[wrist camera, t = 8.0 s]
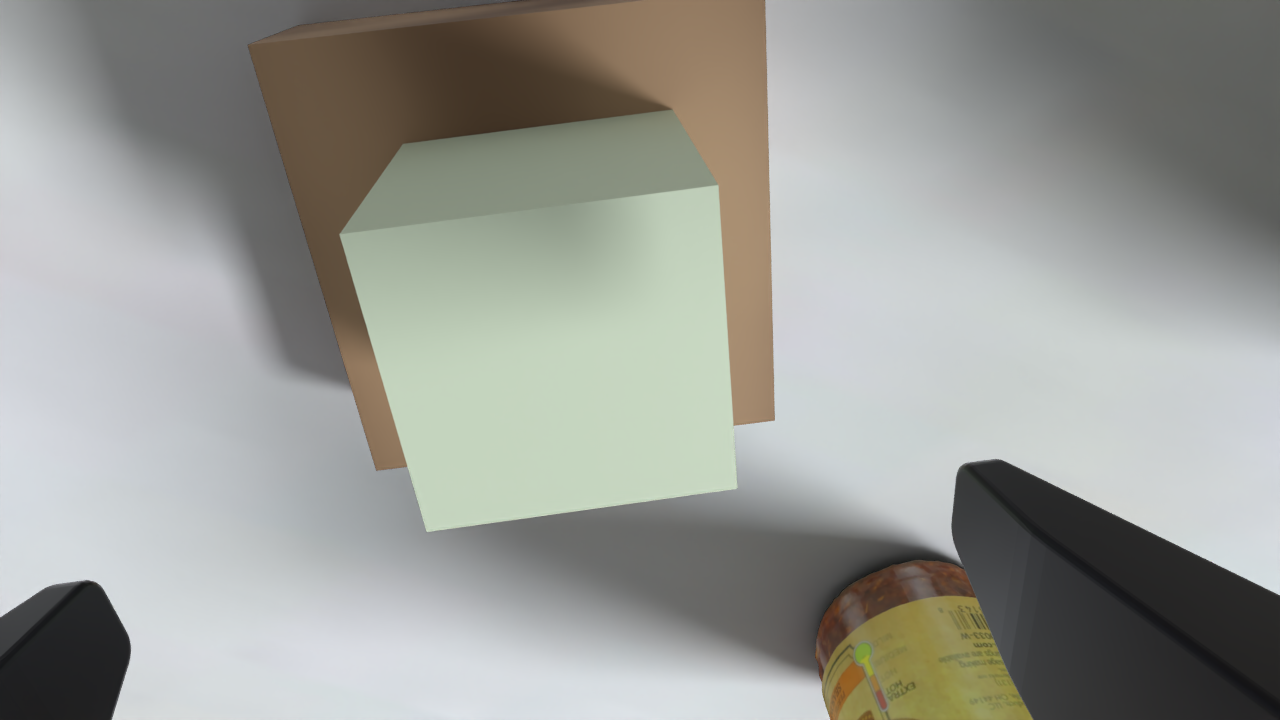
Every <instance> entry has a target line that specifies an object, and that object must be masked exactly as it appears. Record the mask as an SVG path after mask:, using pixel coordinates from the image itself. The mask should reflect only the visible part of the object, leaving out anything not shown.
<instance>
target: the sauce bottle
mask: <svg viewBox="0 0 1280 720" xmlns="http://www.w3.org/2000/svg"><path fill="white" fill-rule="evenodd" d="M815 658H816V660H817V662H818V665H819V676H820V679H821V681H822V693H823V698H824V701H825V705H826V708H827V711H828V714H829V717H830V720H1033V719H1032V717H1031V715H1030V713H1029V711H1028V710H1027V708H1026V706H1025V704H1024V702H1023V701H1022V699H1021V697H1020V695H1019V693H1018V691H1017V689H1016V687H1015V685H1014V683H1013V682H1012V680H1011V678H1010V676H1009V674H1008V672H1007V669H1006V667H1005V665H1004V663H1003V660H1002V658H1001V656H1000V654H999V651H998V649H997V646H996V644H995V642H994V639H993V637H992V634H991V632H990V630H989V627H988V625H987V622H986V620H985V617H984V615H983V613H982V610H981V608H980V605H979V603H978V601H977V598H976V596H975V593H974V591H973V589H972V586H971V584H970V581H969V579H968V577H967V574H966V572H965V570H964V569H961V568H960V567H958V566H957V565H955V564H952V563H944V562H941V561H938V560H937V561H924V560H913V561H909V562H906V563H901V564H897V565H894V564H893V565H891V566H889V567H887V568H884V569H882V570H880V571H878V572H874V573H870V574H869V575H867V576H865V577H863V578H861V579H859V580H857V581H855V582H854V583H852V584H851V585H849V586H848V587H846V588H845V589H844V590H843V591H842V592H841V593H840V595H839V596H838V597H837V598H835V599H834V601H833V603H832V604H831V605H830V606H829V608H828V609H827V610H826V612H825V614H824V616H823V618H822V621H821V624H820V627H819V629H818V635H817V639H816V651H815Z"/></svg>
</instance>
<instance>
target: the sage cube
mask: <svg viewBox="0 0 1280 720" xmlns="http://www.w3.org/2000/svg"><path fill="white" fill-rule="evenodd" d="M339 235H340V238H341V241H342V245H343V248H344V252H345V255H346V259H347V262H348V265H349V269H350V272H351V276H352V279H353V282H354V286H355V289H356V293H357V296H358V299H359V303H360V306H361V310H362V313H363V317H364V320H365V323H366V327H367V330H368V334H369V337H370V340H371V344H372V347H373V351H374V354H375V357H376V361H377V364H378V368H379V371H380V374H381V378H382V381H383V385H384V388H385V392H386V395H387V398H388V402H389V405H390V409H391V412H392V415H393V419H394V422H395V426H396V429H397V432H398V436H399V439H400V443H401V446H402V450H403V453H404V456H405V460H406V463H407V467H408V470H409V473H410V477H411V480H412V484H413V487H414V490H415V494H416V497H417V501H418V504H419V507H420V511H421V514H422V518H423V521H424V525H425V528H426V531H427V532H431V531H438V530H446V529H453V528H460V527H467V526H474V525H481V524H489V523H496V522H503V521H510V520H517V519H524V518H532V517H539V516H546V515H553V514H560V513H567V512H575V511H582V510H589V509H596V508H603V507H610V506H618V505H625V504H632V503H639V502H646V501H653V500H661V499H668V498H675V497H682V496H689V495H696V494H704V493H711V492H718V491H725V490H732V489H737V473H736V457H735V442H734V426H733V410H732V394H731V378H730V362H729V346H728V330H727V314H726V298H725V282H724V266H723V250H722V234H721V218H720V202H719V186H718V184H717V182H716V180H715V179H714V177H713V175H712V174H711V172H710V170H709V169H708V167H707V165H706V164H705V162H704V160H703V159H702V157H701V155H700V154H699V152H698V151H697V149H696V147H695V146H694V144H693V142H692V141H691V139H690V137H689V136H688V134H687V132H686V131H685V129H684V127H683V126H682V124H681V122H680V121H679V119H678V117H677V116H676V114H675V112H674V111H673V110H665V111H657V112H649V113H641V114H633V115H625V116H617V117H610V118H602V119H594V120H586V121H578V122H570V123H563V124H555V125H547V126H539V127H531V128H523V129H515V130H508V131H500V132H492V133H484V134H476V135H468V136H460V137H453V138H445V139H437V140H429V141H421V142H413V143H406V144H403V145H402V146H401V147H400V149H399V150H398V152H397V153H396V155H395V156H394V157H393V159H392V160H391V162H390V163H389V165H388V166H387V167H386V169H385V170H384V172H383V173H382V175H381V176H380V177H379V179H378V180H377V182H376V183H375V184H374V186H373V187H372V189H371V190H370V192H369V193H368V194H367V196H366V197H365V199H364V200H363V202H362V203H361V204H360V206H359V207H358V209H357V210H356V212H355V213H354V214H353V216H352V217H351V219H350V220H349V221H348V223H347V224H346V226H345V227H344V229H343V230H342V231H341V233H340V234H339Z"/></svg>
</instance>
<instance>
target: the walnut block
mask: <svg viewBox="0 0 1280 720" xmlns="http://www.w3.org/2000/svg"><path fill="white" fill-rule="evenodd" d="M248 48H249V51H250V55H251V58H252V61H253V65H254V68H255V71H256V75H257V78H258V81H259V84H260V88H261V91H262V94H263V98H264V101H265V104H266V108H267V111H268V114H269V117H270V121H271V124H272V127H273V131H274V134H275V137H276V141H277V144H278V147H279V151H280V154H281V157H282V160H283V164H284V167H285V170H286V174H287V177H288V180H289V184H290V187H291V190H292V193H293V197H294V200H295V203H296V207H297V210H298V213H299V217H300V220H301V223H302V227H303V230H304V233H305V236H306V240H307V243H308V246H309V250H310V253H311V256H312V260H313V263H314V266H315V269H316V273H317V276H318V279H319V283H320V286H321V289H322V293H323V296H324V299H325V303H326V306H327V309H328V312H329V316H330V319H331V322H332V326H333V329H334V332H335V336H336V339H337V342H338V346H339V349H340V352H341V355H342V359H343V362H344V365H345V369H346V372H347V375H348V379H349V382H350V385H351V388H352V392H353V395H354V398H355V402H356V405H357V408H358V412H359V415H360V418H361V422H362V425H363V428H364V431H365V435H366V438H367V441H368V445H369V448H370V451H371V455H372V458H373V461H374V464H375V468H376V471H378V470H385V469H393V468H401V467H407V463H406V460H405V456H404V453H403V450H402V446H401V443H400V439H399V436H398V432H397V429H396V426H395V422H394V419H393V415H392V412H391V409H390V405H389V402H388V398H387V395H386V392H385V388H384V385H383V381H382V378H381V374H380V371H379V368H378V364H377V361H376V357H375V354H374V351H373V347H372V344H371V340H370V337H369V334H368V330H367V327H366V323H365V320H364V317H363V313H362V310H361V306H360V303H359V299H358V296H357V293H356V289H355V286H354V282H353V279H352V276H351V272H350V269H349V265H348V262H347V259H346V255H345V252H344V248H343V245H342V241H341V238H340V235H339V234H340V233H341V231H342V230H343V229H344V227H345V226H346V224H347V223H348V221H349V220H350V219H351V217H352V216H353V214H354V213H355V212H356V210H357V209H358V207H359V206H360V204H361V203H362V202H363V200H364V199H365V197H366V196H367V194H368V193H369V192H370V190H371V189H372V187H373V186H374V184H375V183H376V182H377V180H378V179H379V177H380V176H381V175H382V173H383V172H384V170H385V169H386V167H387V166H388V165H389V163H390V162H391V160H392V159H393V157H394V156H395V155H396V153H397V152H398V150H399V149H400V147H401V146H402V145H403V144H406V143H413V142H421V141H429V140H437V139H445V138H453V137H460V136H468V135H476V134H484V133H492V132H500V131H508V130H515V129H523V128H531V127H539V126H547V125H555V124H563V123H570V122H578V121H586V120H594V119H602V118H610V117H617V116H625V115H633V114H641V113H649V112H657V111H665V110H673V111H674V112H675V114H676V116H677V117H678V119H679V121H680V122H681V124H682V126H683V127H684V129H685V131H686V132H687V134H688V136H689V137H690V139H691V141H692V142H693V144H694V146H695V147H696V149H697V151H698V152H699V154H700V155H701V157H702V159H703V160H704V162H705V164H706V165H707V167H708V169H709V170H710V172H711V174H712V175H713V177H714V179H715V180H716V182H717V184H718V186H719V202H720V218H721V234H722V250H723V266H724V282H725V298H726V314H727V330H728V346H729V362H730V378H731V394H732V410H733V426H735V425H743V424H751V423H759V422H766V421H774V420H775V412H774V368H773V325H772V281H771V237H770V193H769V149H768V106H767V62H766V18H765V0H520V1H511V2H502V3H493V4H484V5H476V6H467V7H458V8H449V9H440V10H431V11H422V12H413V13H404V14H395V15H386V16H377V17H368V18H359V19H350V20H341V21H333V22H324V23H315V24H306V25H298V26H295V27H292V28H290V29H287V30H285V31H282V32H280V33H277V34H274V35H272V36H269V37H267V38H264V39H262V40H259V41H256V42H254V43H251V44H249V45H248Z"/></svg>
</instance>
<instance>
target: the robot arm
mask: <svg viewBox="0 0 1280 720" xmlns="http://www.w3.org/2000/svg"><path fill="white" fill-rule="evenodd" d="M952 536H953V541H954V544H955V547H956V550H957V552H958V555H959V557H960V560H961V562H962V564H963V567H964V569H965V572H966V574H967V577H968V579H969V581H970V584H971V586H972V589H973V591H974V593H975V596H976V598H977V601H978V603H979V605H980V608H981V610H982V613H983V615H984V617H985V620H986V622H987V625H988V627H989V630H990V632H991V634H992V637H993V639H994V642H995V644H996V646H997V649H998V651H999V654H1000V656H1001V658H1002V660H1003V663H1004V665H1005V667H1006V669H1007V672H1008V674H1009V676H1010V678H1011V680H1012V682H1013V683H1014V685H1015V687H1016V689H1017V691H1018V693H1019V695H1020V697H1021V699H1022V701H1023V702H1024V704H1025V706H1026V708H1027V710H1028V711H1029V713H1030V715H1031V717H1032V719H1033V720H1280V595H1278V594H1276V593H1274V592H1272V591H1270V590H1268V589H1265V588H1263V587H1261V586H1259V585H1257V584H1255V583H1253V582H1251V581H1249V580H1247V579H1245V578H1243V577H1241V576H1239V575H1237V574H1235V573H1233V572H1231V571H1229V570H1227V569H1224V568H1222V567H1220V566H1218V565H1216V564H1214V563H1212V562H1210V561H1208V560H1206V559H1204V558H1202V557H1200V556H1198V555H1196V554H1194V553H1192V552H1190V551H1188V550H1186V549H1184V548H1181V547H1179V546H1177V545H1175V544H1173V543H1171V542H1169V541H1167V540H1165V539H1163V538H1161V537H1159V536H1157V535H1155V534H1153V533H1151V532H1149V531H1147V530H1145V529H1143V528H1140V527H1138V526H1136V525H1134V524H1132V523H1130V522H1128V521H1126V520H1124V519H1122V518H1120V517H1118V516H1116V515H1114V514H1112V513H1110V512H1108V511H1106V510H1104V509H1102V508H1100V507H1097V506H1095V505H1093V504H1091V503H1089V502H1087V501H1085V500H1083V499H1081V498H1079V497H1077V496H1075V495H1073V494H1071V493H1069V492H1067V491H1065V490H1063V489H1061V488H1059V487H1056V486H1054V485H1052V484H1050V483H1048V482H1046V481H1044V480H1042V479H1040V478H1038V477H1036V476H1034V475H1032V474H1030V473H1028V472H1026V471H1024V470H1022V469H1020V468H1018V467H1016V466H1013V465H1011V464H1009V463H1007V462H1005V461H1003V460H999V459H992V460H984V461H977V462H970V463H965V464H963V465H962V466H961V467H960V468H959V470H958V472H957V476H956V484H955V494H954V504H953V514H952ZM130 654H131V645H130V640H129V636H128V634H127V632H126V630H125V628H124V626H123V624H122V623H121V621H120V619H119V617H118V615H117V613H116V611H115V610H114V608H113V606H112V604H111V602H110V600H109V599H108V597H107V595H106V593H105V591H104V590H103V588H102V587H101V586H100V585H99V584H97V583H96V582H94V581H89V580H85V581H77V582H69V583H62V584H56V585H52V586H49V587H47V588H45V589H43V590H41V591H40V592H38V593H37V594H35V595H34V596H32V597H31V598H29V599H28V600H26V601H25V602H23V603H22V604H20V605H19V606H17V607H16V608H14V609H12V610H11V611H9V612H8V613H6V614H5V615H3V616H2V617H0V720H112V717H113V714H114V711H115V707H116V704H117V701H118V698H119V694H120V691H121V688H122V684H123V681H124V678H125V675H126V671H127V668H128V665H129V661H130Z"/></svg>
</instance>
